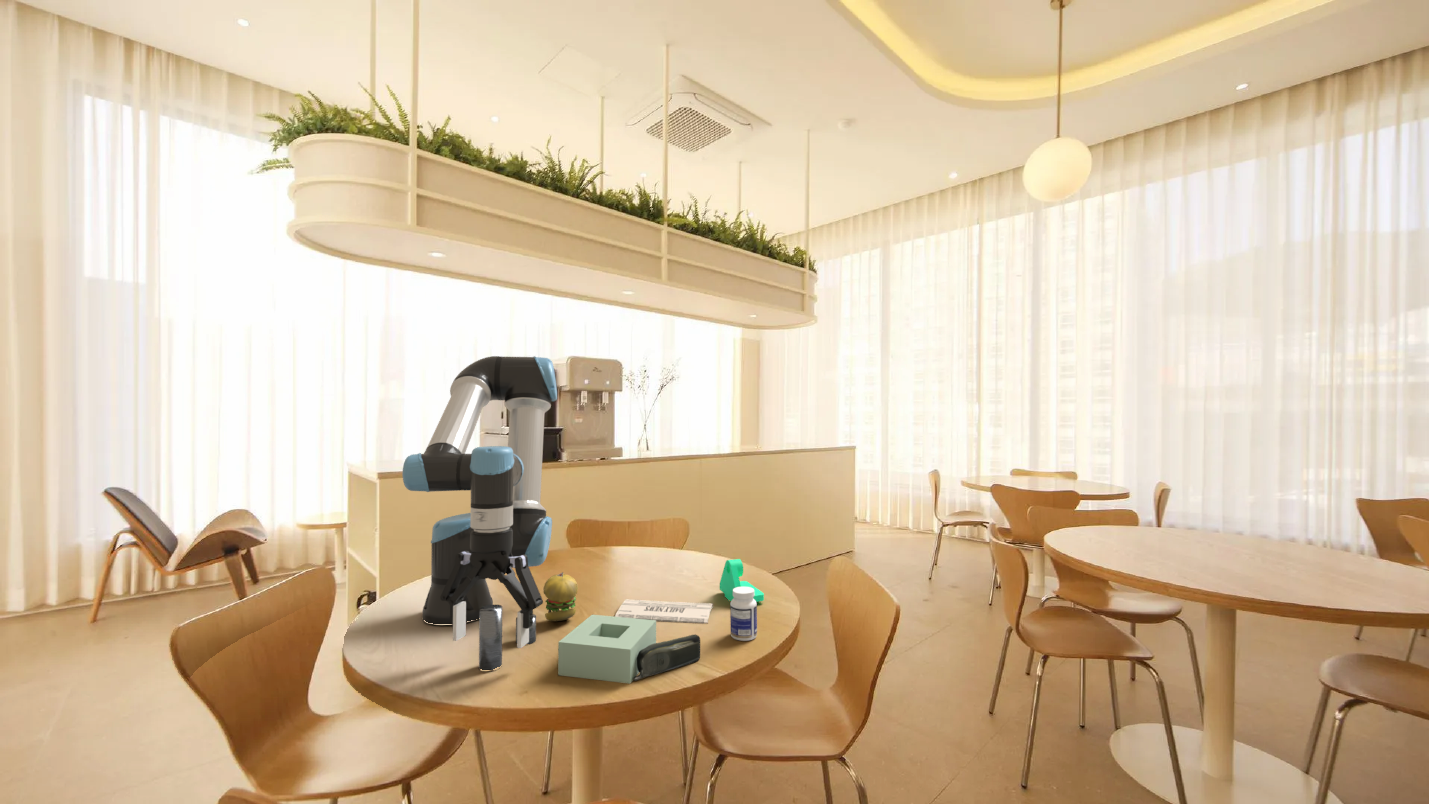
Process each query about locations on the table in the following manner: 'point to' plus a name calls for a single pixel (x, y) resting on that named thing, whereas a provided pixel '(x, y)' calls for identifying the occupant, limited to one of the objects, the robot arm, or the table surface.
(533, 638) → the short pin
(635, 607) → the newspaper
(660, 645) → the mobile phone
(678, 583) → the table surface
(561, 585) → the hamburger
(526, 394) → the robot arm
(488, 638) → the long pin
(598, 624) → the guide block
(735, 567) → the camera mount
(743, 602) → the pill bottle
